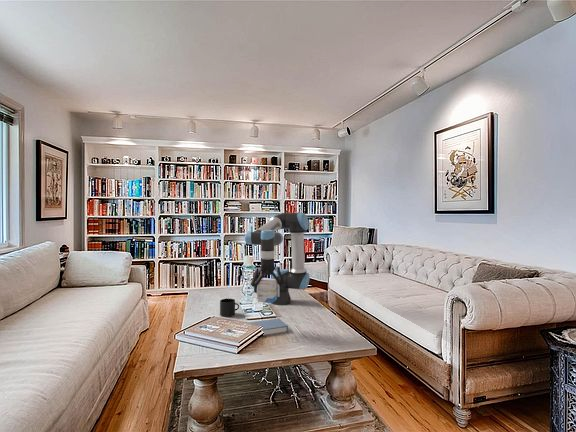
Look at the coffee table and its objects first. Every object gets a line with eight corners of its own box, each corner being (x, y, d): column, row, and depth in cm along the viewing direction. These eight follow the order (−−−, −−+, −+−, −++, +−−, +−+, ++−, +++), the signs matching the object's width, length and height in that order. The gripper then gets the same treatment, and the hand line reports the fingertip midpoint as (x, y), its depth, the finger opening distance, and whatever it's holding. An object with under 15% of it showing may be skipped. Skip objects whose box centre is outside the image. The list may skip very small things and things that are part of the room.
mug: (239, 316, 200) (239, 302, 200) (219, 317, 198) (219, 303, 198) (238, 311, 209) (238, 297, 209) (220, 312, 207) (220, 298, 207)
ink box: (277, 299, 180) (277, 278, 180) (271, 303, 172) (271, 281, 172) (263, 297, 183) (263, 277, 183) (257, 301, 175) (257, 280, 175)
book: (279, 324, 187) (279, 318, 187) (287, 332, 175) (287, 325, 175) (249, 328, 180) (249, 322, 180) (256, 337, 168) (256, 330, 168)
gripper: (285, 256, 185) (285, 293, 186) (244, 258, 176) (244, 297, 176) (290, 257, 178) (290, 296, 179) (248, 260, 169) (248, 301, 169)
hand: (267, 297), depth 178 cm, fingers closed on ink box, 11 cm apart
